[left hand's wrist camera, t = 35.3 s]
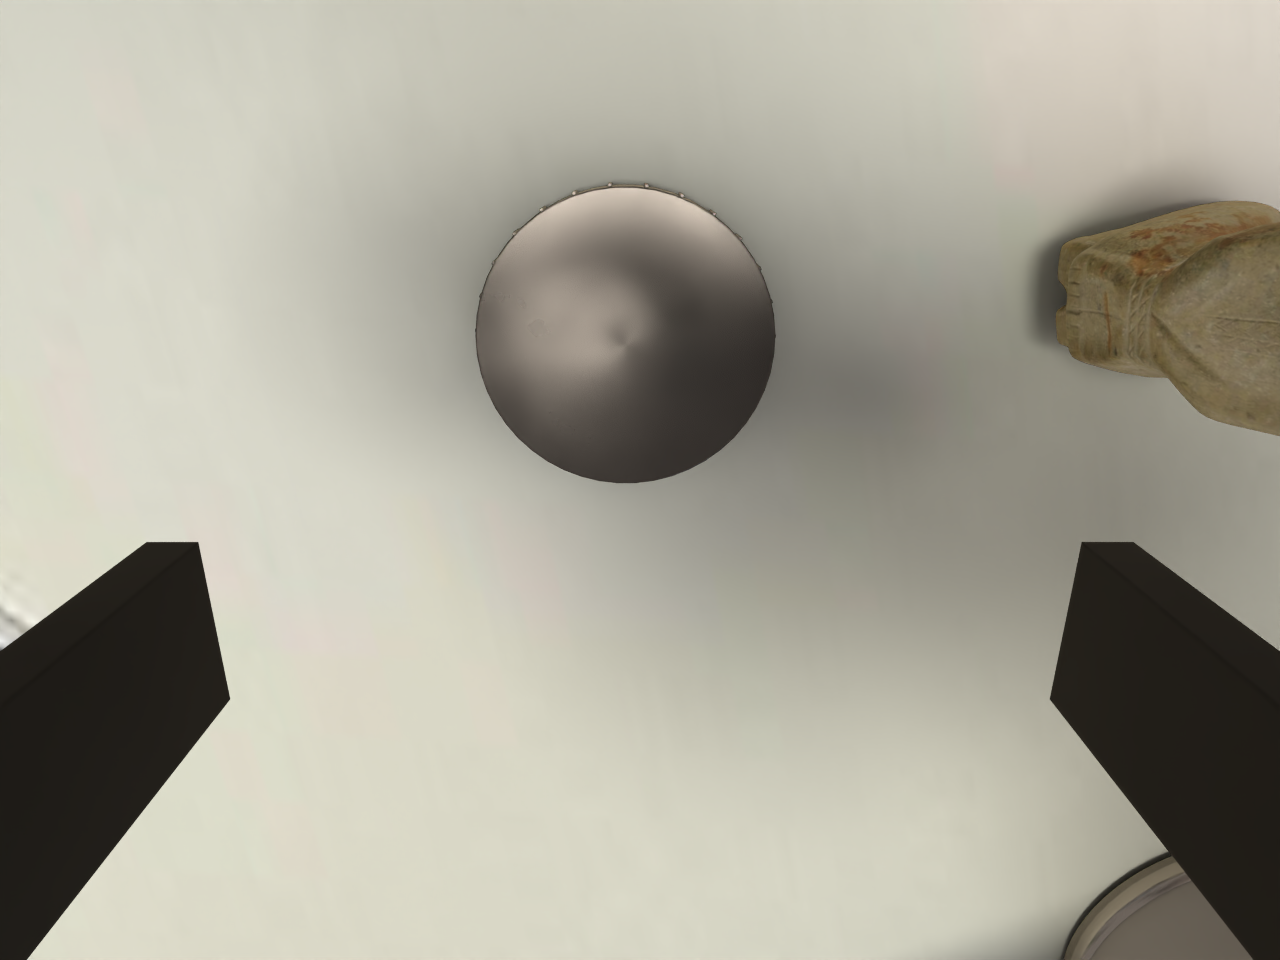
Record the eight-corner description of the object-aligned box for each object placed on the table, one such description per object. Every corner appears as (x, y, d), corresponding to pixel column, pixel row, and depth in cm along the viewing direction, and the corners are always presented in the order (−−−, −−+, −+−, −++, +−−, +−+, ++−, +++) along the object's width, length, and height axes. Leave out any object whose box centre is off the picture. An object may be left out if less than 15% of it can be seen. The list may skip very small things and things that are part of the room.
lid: (639, 519, 32) (639, 538, 30) (423, 348, 29) (411, 359, 28) (829, 320, 29) (840, 330, 27) (609, 113, 26) (608, 110, 25)
